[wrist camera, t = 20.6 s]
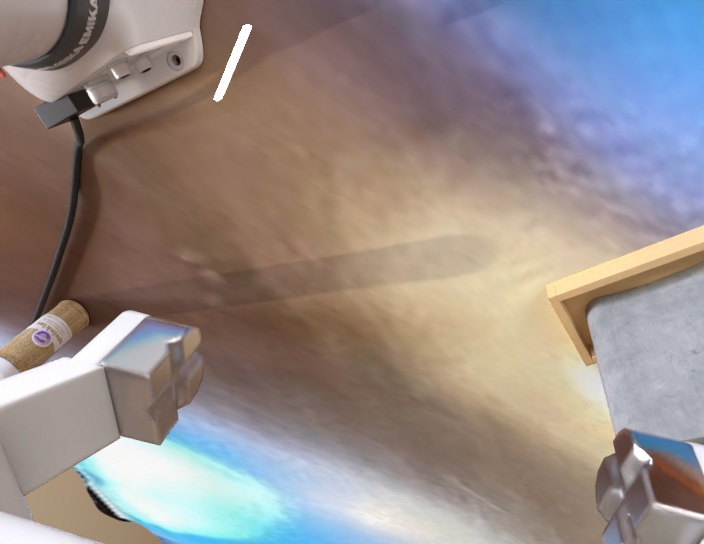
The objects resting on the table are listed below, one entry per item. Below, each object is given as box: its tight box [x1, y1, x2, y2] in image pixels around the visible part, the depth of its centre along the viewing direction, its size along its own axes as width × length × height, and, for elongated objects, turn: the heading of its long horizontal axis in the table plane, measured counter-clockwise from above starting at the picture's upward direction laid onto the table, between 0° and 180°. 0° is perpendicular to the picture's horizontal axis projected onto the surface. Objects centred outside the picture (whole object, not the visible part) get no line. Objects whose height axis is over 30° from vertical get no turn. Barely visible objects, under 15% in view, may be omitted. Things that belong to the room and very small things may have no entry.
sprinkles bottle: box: [0, 300, 89, 380], centre depth 61 cm, size 5×5×14 cm
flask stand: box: [546, 225, 704, 366], centre depth 44 cm, size 20×9×2 cm, turn 124°
